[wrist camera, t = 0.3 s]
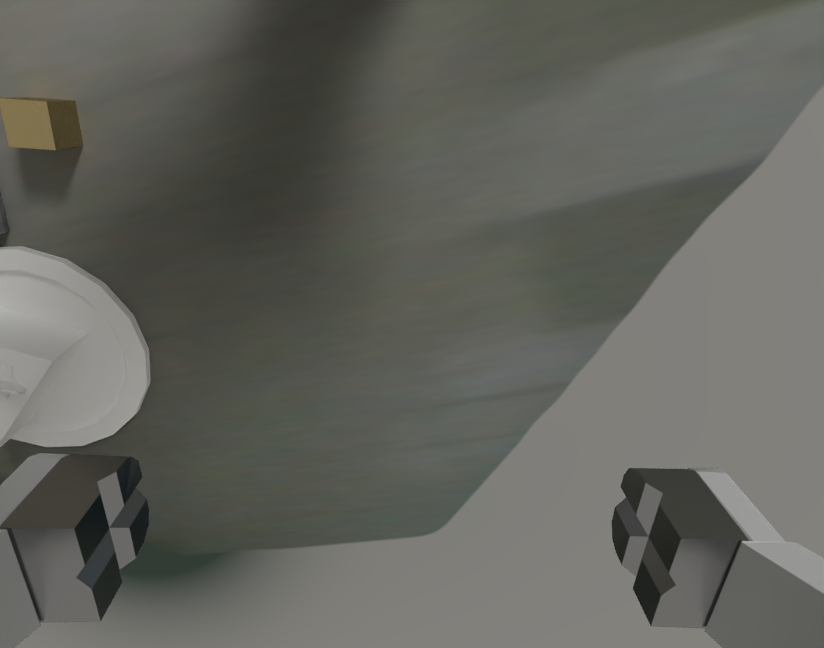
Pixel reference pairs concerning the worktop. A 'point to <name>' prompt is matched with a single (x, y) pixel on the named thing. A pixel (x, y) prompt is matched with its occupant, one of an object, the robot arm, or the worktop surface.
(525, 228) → the worktop surface
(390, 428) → the worktop surface
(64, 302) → the dish
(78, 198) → the worktop surface
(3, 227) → the track
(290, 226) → the worktop surface
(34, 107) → the wooden block
